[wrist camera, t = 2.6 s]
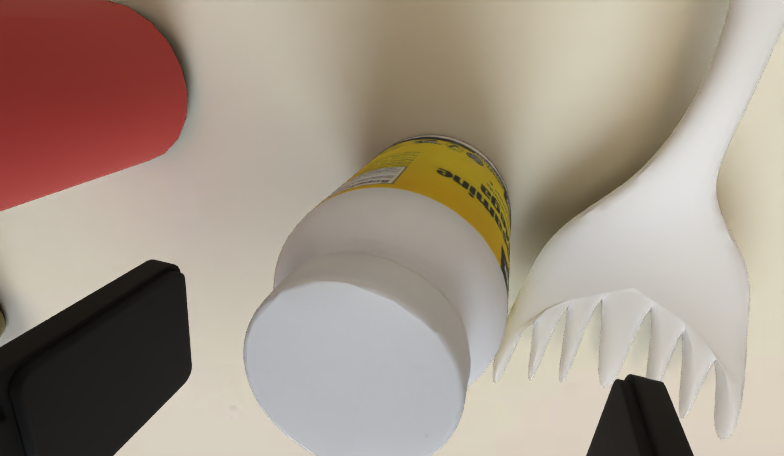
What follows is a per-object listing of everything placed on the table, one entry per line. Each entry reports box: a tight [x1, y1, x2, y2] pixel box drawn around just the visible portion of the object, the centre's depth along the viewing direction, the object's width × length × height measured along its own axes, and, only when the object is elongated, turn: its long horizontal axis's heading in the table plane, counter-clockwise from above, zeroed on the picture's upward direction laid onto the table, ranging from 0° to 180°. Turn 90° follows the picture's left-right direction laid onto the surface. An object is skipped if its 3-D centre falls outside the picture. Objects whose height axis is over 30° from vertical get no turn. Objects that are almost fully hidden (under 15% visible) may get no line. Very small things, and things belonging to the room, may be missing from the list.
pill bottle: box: [244, 135, 511, 456], centre depth 14 cm, size 6×6×11 cm
